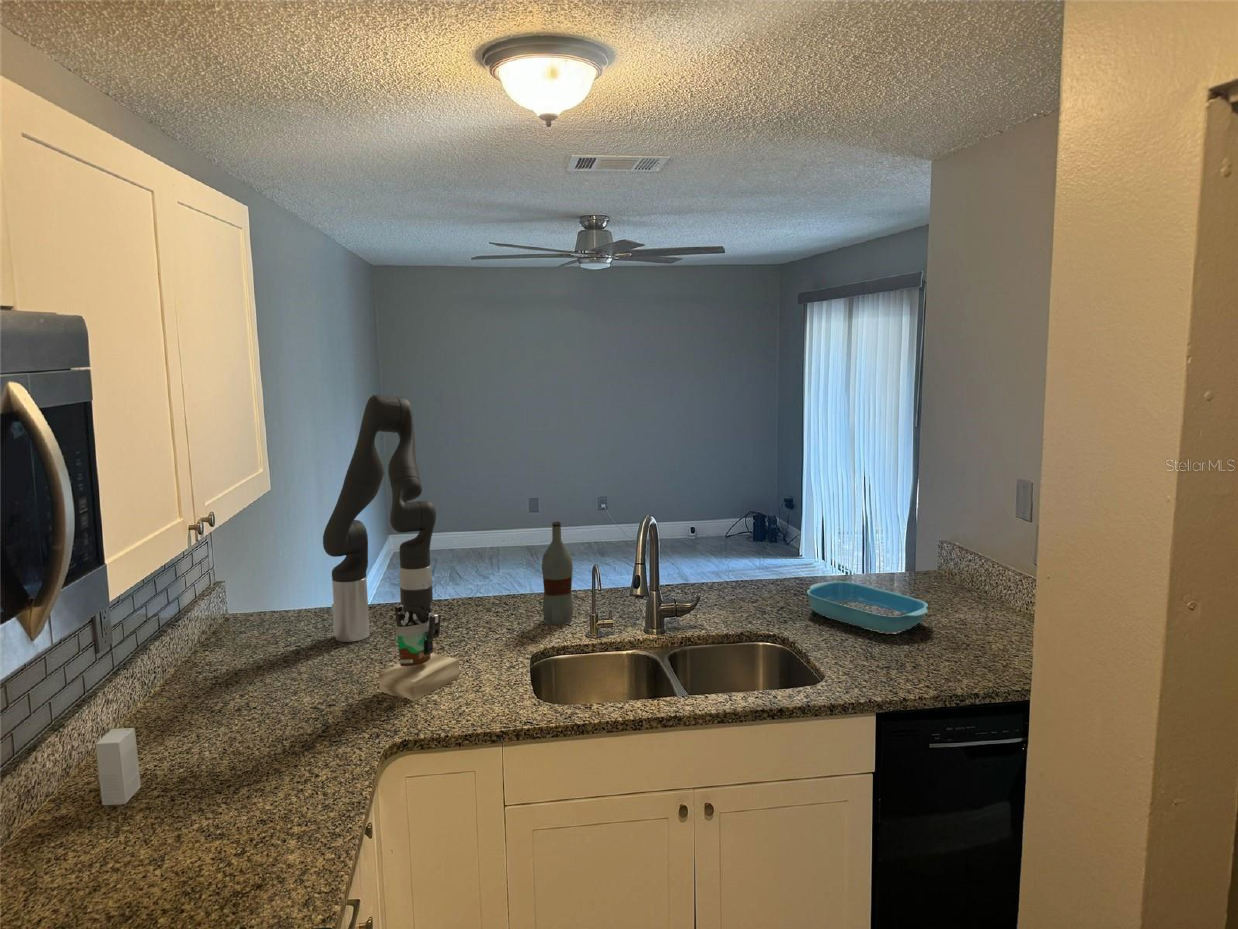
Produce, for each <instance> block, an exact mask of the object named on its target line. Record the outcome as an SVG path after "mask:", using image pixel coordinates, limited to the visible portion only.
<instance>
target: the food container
mask: <svg viewBox="0 0 1238 929" xmlns="http://www.w3.org/2000/svg"><path fill="white" fill-rule="evenodd" d="M424 632H426V633H427V635H428V633H429V622H426V623H423V624H420V625H416V624H413V623H411V622H408V623H406V624H405V625H404V626H403V627H397V626H396V630H395V637H396V638H397V645H398V654H399V655H398V656H399V664H400V666H414V665H419V664H423V663H425V662H427V661H429V660H430V657H431V654H429V655H424Z"/></svg>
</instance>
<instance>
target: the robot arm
mask: <svg viewBox="0 0 1238 929" xmlns="http://www.w3.org/2000/svg"><path fill="white" fill-rule="evenodd" d="M363 411H364V412H363V417H362V420H361V424H360V428H359V431H358V432H359V433H358V436H357V441H356V445H355V448H354V450H353V454H352V457H351V460H350V463H349V465H348V468H347V471H346V474H345V476H344V480H343V484H342V488H341V491H340V494H339V496H338V499H337V502H336V504H335V506H334V509H333V511H332V513H331V515H330V517H329V520H328V522H327V524H326V525H325V529H324V532H323V536H322V545H323V549H324V552H325V553H326V554H327V555H328V556H331V557H333V558H334V557H335V558H336V557H337V558H338V557H344V556H345V557H344V558H343V560H342V561H341V562H340V563H339V564H337V565H336V566H334V567H333V568H332V570H331V583H332V584H331V585H332V600H333V603H332V604H331V615H332V616H331V617H332V630H333V631H332V632H333V633H332V634H333V637H335V640H336V641H338V642H342V643H344V642H345V643H350V642H351V643H352V642H357V641H363V640H365V639H367V638H368V637H369V636H370V618H369V598H368V596H369V595H368V581H367V578H368V577H367V571H368V567H369V537H368V536H369V534H368V532H367V531H368V530H367V528H366V525H365V524H364V523H363V522H362V521H361V520H359V519H356V518H357V517H358V515H360V513H362V511H364V510H365V509H366V508H367V507H368V506H369V505H370V504H371V503H372V501H373V500H374V499H375V497H376V496H377V494H378V492H379V490H380V488H381V485H382V482H383V478H384V475H385V469H384V465H383V461H382V459H381V457H380V454H379V453H378V451H377V446H376V442H375V441H376V435H377V434H378V432H384V433H392V434H393V433H395V434H397V435H398V440H399V442H398V444H397V447H396V448H395V450H394V453H393V454H392V456H391V458H390V460H389V463H388V470H387V471H388V473H387V474H388V476H389V482H390V487H391V492H392V493H391V494H392V495H391V497H392V504H391V509H390V515H389V516H390V517H389V518H390V520H389V522H390V525H391V528H392V529H393V530H394V531H395V532H397V533H402V534H403V533H411V532H418V533H417V535H416V536H415V537H414V538H411V539H409V540H408V539H407V540H406V541H403V542H402V543H401V544H400V545H399V589H400V590H399V596H400V605H397V606H394V608H393V610H394V615H395V622H396V628H397V627H403V626H404V625H405V624H406V623H408V622H411V623H413V624H416V625H420V624H423V623H426V622H429V633H428V635H427V633H426V632H424V655H429V654H431V653H434V643H433V642H434V639H435V638H439V637H440V631H441V621H442V620H441V617H442V616H441V614H440V613H433V611H432V610H431V604H432V603H433V601H434V600H433V598H434V596H433V575H432V574H433V573H432V568H431V542H432V537H433V532H434V528H435V525H436V520H437V510H436V507H435V505H434V504H433V503H432V501H431V502H430V501H428V500H419V501H413V500H416V499H417V498H419V497H420V496H421V494H422V491H423V487H422V482H421V478H420V473H419V470H418V463H417V459H416V458H417V457H416V444H415V443H416V442H415V427H414V426H415V425H414V414H413V408H412V405H411V402H410V401H409V400H408V399H406V398H404V397H399V396H392V395H383V394H373V395H371V396H370V397H369V399H368V400H367V402H366V404H365V408H364V410H363Z"/></svg>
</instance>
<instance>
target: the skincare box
mask: <svg viewBox="0 0 1238 929" xmlns="http://www.w3.org/2000/svg"><path fill="white" fill-rule="evenodd" d="M135 729H136V728H135V727H130V728H129V727H128V728H112V729H110V730H109V731H108V732H107V733H106V734H105V735H104V736H103V737H102V738H100V739H99V740H98V741H97V742H96V743H95V746H94V747H95V755H96V762H97V763H96V764H97V770H98V779H99V787H100V788H99V789H100V796H101V804H102V806H117V805H119V806H120V805H126V804H127V803H128V802H129V801H130V799H132V797H133V796H134V795H135V794H136V793H137V792H138V791H139V789H140V788H142V784H141V776H140V765H139V755H138V746H137V739H136V730H135Z"/></svg>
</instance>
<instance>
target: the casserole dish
mask: <svg viewBox="0 0 1238 929" xmlns="http://www.w3.org/2000/svg"><path fill="white" fill-rule="evenodd" d="M806 593H807V596H808V601H809V604H810V606H811V608H812V610H813V611H814V612H815V613H816V614H817V613H819V614H821V615H824V616H828V617H831V618H834V619H838V620H841V621H844V622H846V623H851V624H854V625H857V626H862V627H866V628H869V629H872V630H879V631H884V632H898V631H902V630H906V629H908V628H910V627H912V626H914V625H916V624H918V623H920V624H921V622H922V621H923V618H924V617H925V615H927V613H929V611H928V607H929V604H928V603H927V602H925V601H923V600H921V599H917V598H914V597H911V596H907V595H904V594H900V593H896V592H891V591H888V590H884V589H881V588H876V587H873V586H870V585H865V584H862V583H861V584H860V583H856V582H852V581H842V580H841V581H830V582H829V581H828V582H825V581H824V582H817V583H814V584H812V585H810V586H809V589H808V590H807V591H806ZM835 602H858V603H862V604H866V605H869V606H877V607H881V608H885V609H893V610H896V611H898V612H901V613H905V614H906V615H902V616H886V615H880V614H875V613H871V612H867V611H863V610H859V609H856V608H852V607H849V606H846V605H842V604H838V603H835ZM819 614H818V615H819ZM821 615H820V616H821Z"/></svg>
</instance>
